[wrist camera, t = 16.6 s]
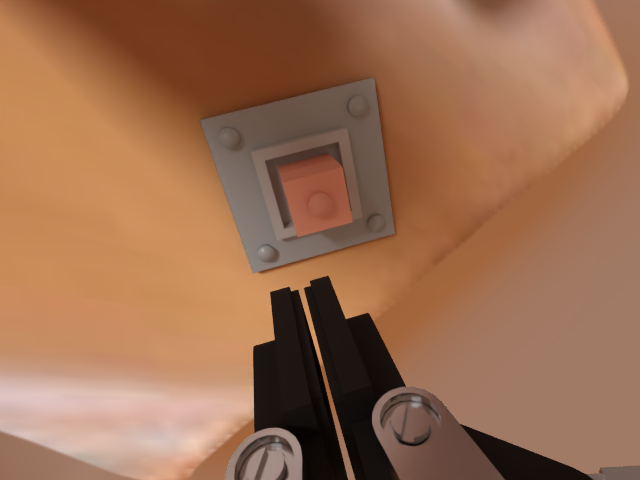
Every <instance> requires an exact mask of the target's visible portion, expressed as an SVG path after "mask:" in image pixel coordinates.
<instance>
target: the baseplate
mask: <svg viewBox="0 0 640 480" xmlns="http://www.w3.org/2000/svg"><path fill="white" fill-rule="evenodd" d="M200 123H201V125H202V128H203V131H204V134H205V137H206V140H207V143H208V146H209V148H210V151H211V154H212V157H213V160H214V163H215V166H216V169H217V171H218V174H219V177H220V180H221V183H222V186H223V189H224V191H225V194H226V197H227V200H228V203H229V206H230V209H231V212H232V214H233V217H234V220H235V223H236V226H237V229H238V232H239V234H240V237H241V240H242V243H243V246H244V249H245V252H246V255H247V257H248V260H249V263H250V266H251V269H252V272H253V273H256V272H259V271H263V270H267V269H270V268H274V267H277V266H281V265H285V264H288V263H292V262H295V261H299V260H303V259H306V258H310V257H313V256H317V255H321V254H324V253H328V252H331V251H335V250H339V249H342V248H346V247H349V246H353V245H357V244H360V243H364V242H367V241H371V240H375V239H378V238H382V237H385V236H389V235H393V234H395V229H394V222H393V214H392V207H391V199H390V192H389V184H388V177H387V169H386V162H385V154H384V147H383V139H382V132H381V124H380V117H379V109H378V102H377V94H376V87H375V79H374V78H367V79H363V80H359V81H355V82H351V83H347V84H343V85H339V86H335V87H331V88H327V89H323V90H319V91H314V92H310V93H306V94H302V95H298V96H294V97H290V98H286V99H282V100H278V101H274V102H270V103H266V104H261V105H257V106H253V107H249V108H245V109H241V110H237V111H233V112H229V113H225V114H221V115H217V116H213V117H209V118H204V119H201V120H200ZM325 153H329V154H330V155H331V156H332V157H333V158H334V159H335V160H336V161H337V162H338V163H339V164H340V165H341V166H342V167H343V173H344V178H345V183H346V188H347V194H348V199H349V204H350V210H351V215H352V220H353V222H352V223H348V224H344V225H341V226H337V227H333V228H330V229H326V230H322V231H319V232H315V233H311V234H308V235H304V236H300V237H297V234H296V231H295V227H294V224H293V221H292V217H291V214H290V210H289V207H288V203H287V199H286V196H285V192H284V188H283V185H282V181H281V177H280V173H279V170H278V165H282V164H286V163H290V162H294V161H298V160H302V159H305V158H309V157H313V156H317V155H321V154H325Z"/></svg>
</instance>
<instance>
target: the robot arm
mask: <svg viewBox="0 0 640 480" xmlns="http://www.w3.org/2000/svg"><path fill="white" fill-rule="evenodd" d="M310 283H311V286H309V287H306V288H304V290H305V294H306V298H307V302H308V306H309V310H310V314H311V317H312V321H313V325H314V329H315V333H316V337H317V341H318V344H319V348H320V352H321V356H322V360H323V364H324V367H325V371H326V375H327V379H328V383H329V387H330V390H331V395H332V398H333V402H334V405H335V409H336V413H337V416H338V419H339V423H340V426H341V430H342V434H343V437H344V441H345V444H346V448H347V451H348V455H349V458H350V462H351V465H352V469H353V472H354V475H355V479H356V480H640V466H624V467H606V468H600V471H599V474H584V473H582V472H580V471H578V470H576V469H574V468H572V467H570V466H567V465H565V464H562V463H560V462H557V461H554V460H552V459H549V458H547V457H544V456H542V455H539V454H537V453H534V452H531V451H529V450H526V449H524V448H521V447H518V446H516V445H513V444H511V443H508V442H506V441H503V440H500V439H497V438H495V437H493V436H490V435H487V434H485V433H482V432H480V431H477V430H474V429H472V428H469V427H467V426H464V425H461V424H459V422H458V421H457V420H456V419H455V418H454V416H453V415H452V414H451V413H450V411H449V410H448V409H447V407H446V406H445V405H444V404H443V403H442V401H440V400H439V399H438V398H437V397H436V396H435V395H434V394H432V393H430V392H428V391H426V390H424V389H420V388H416V387H406V386H405V384H404V381H403V379H402V378H401V376H400V374H399V372H398V370H397V368H396V366H395V364H394V362H393V360H392V358H391V356H390V354H389V352H388V350H387V348H386V346H385V344H384V342H383V340H382V338H381V336H380V334H379V332H378V330H377V328H376V326H375V324H374V322H373V320H372V318H371V316H370V315H369V314H368V313H366V314H362V315H359V316H356V317H352V318H349V319H345V316H344V314H343V311H342V309H341V306H340V304H339V301H338V299H337V296H336V294H335V291H334V289H333V286H332V284H331V281H330V278H329V276H326V277H322V278H319V279H315V280H311V281H310ZM270 295H271V305H272V315H273V325H274V336H275V340H273V341H270V342H267V343H263V344H260V345H256V346H254V348H253V368H254V423H255V424H254V427H255V433H254V434H252V435H251V436H249V437H248V438H246V439H245V440H244V441H243V442H242V443H241V444H240V445H239V446H238V447H237V449H236V450H235V452H234V454H233V455H232V457H231V459H230V462H229V465H228V467H227V471H226V476H225V480H348V478H347V474H346V470H345V465H344V462H343V458H342V453H341V449H340V445H339V441H338V437H337V433H336V429H335V425H334V421H333V417H332V412H331V408H330V404H329V400H328V396H327V392H326V388H325V384H324V380H323V376H322V372H321V368H320V364H319V360H318V357H317V353H316V350H315V346H314V343H313V340H312V336H311V333H310V329H309V326H308V322H307V319H306V315H305V312H304V308H303V305H302V302H301V298H300V295H299V291H298V290H295V291H291V290H290V287H287V288H283V289H280V290H276V291H273V292H270Z"/></svg>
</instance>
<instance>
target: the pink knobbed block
mask: <svg viewBox="0 0 640 480" xmlns="http://www.w3.org/2000/svg"><path fill="white" fill-rule="evenodd" d="M278 170H279V173H280V177H281V181H282V185H283V188H284V192H285V196H286V199H287V203H288V207H289V210H290V214H291V217H292V221H293V224H294V227H295V231H296V234H297V237H300V236H304V235H308V234H311V233H315V232H319V231H322V230H326V229H330V228H333V227H337V226H341V225H344V224H348V223H352V222H353V220H352V215H351V210H350V204H349V199H348V194H347V188H346V183H345V178H344V173H343V167H342V166H341V165H340V164H339V163H338V162H337V161H336V160H335V159H334V158H333V157H332V156H331V155H330V154H329V153H325V154H321V155H317V156H313V157H309V158H305V159H302V160H298V161H294V162H290V163H286V164H282V165H278Z"/></svg>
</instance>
